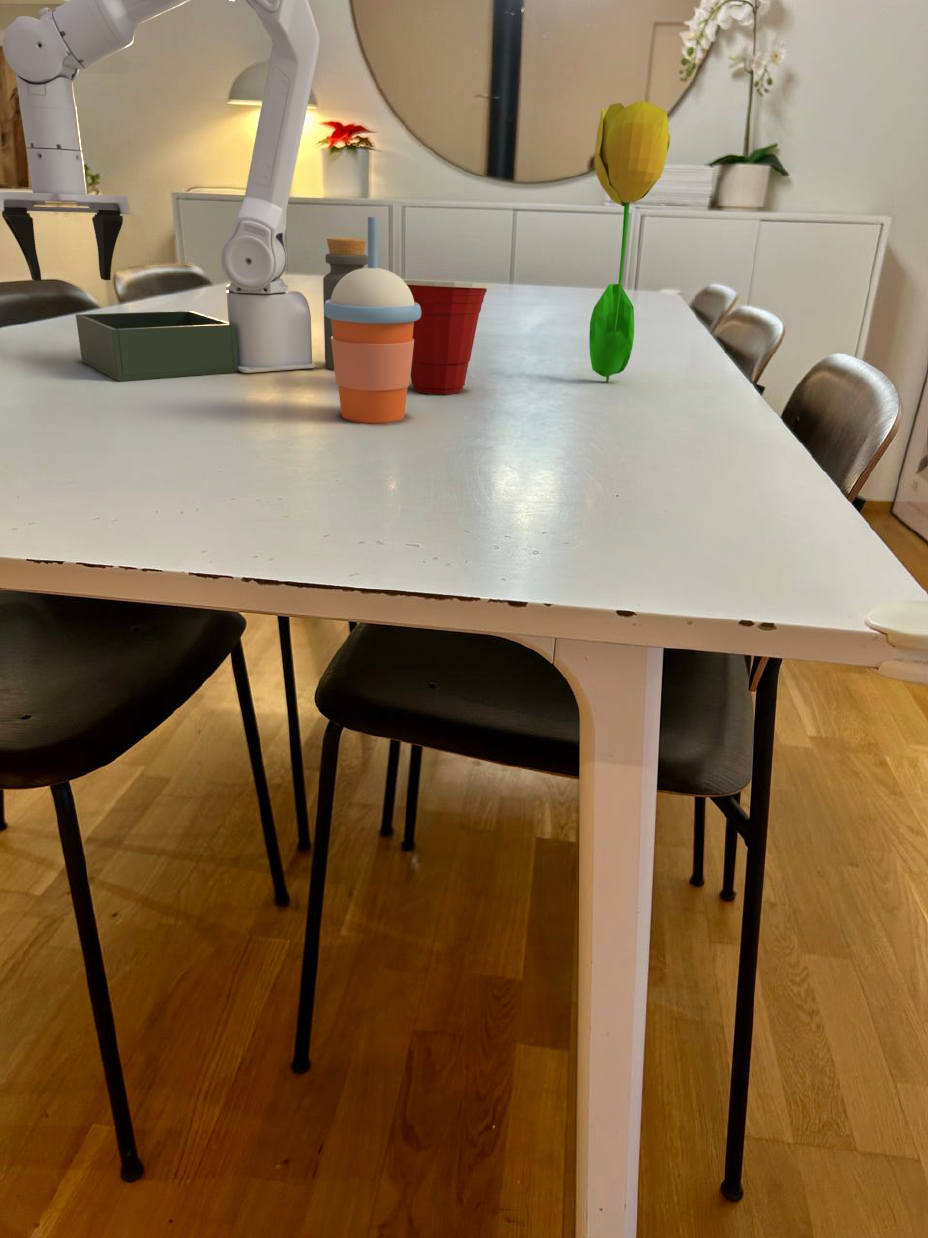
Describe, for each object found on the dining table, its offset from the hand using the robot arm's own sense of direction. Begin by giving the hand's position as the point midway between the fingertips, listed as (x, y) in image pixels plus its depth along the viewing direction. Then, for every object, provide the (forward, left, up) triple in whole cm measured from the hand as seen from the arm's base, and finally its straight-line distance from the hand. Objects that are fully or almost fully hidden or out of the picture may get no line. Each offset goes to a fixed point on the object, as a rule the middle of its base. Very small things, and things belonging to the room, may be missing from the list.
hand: (71, 279), depth 106 cm
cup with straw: (-16, +42, -10) cm, 46 cm away
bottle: (-28, +16, -10) cm, 34 cm away
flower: (-52, +38, -10) cm, 65 cm away
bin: (-7, +7, -9) cm, 14 cm away
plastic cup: (-30, +33, -10) cm, 46 cm away
